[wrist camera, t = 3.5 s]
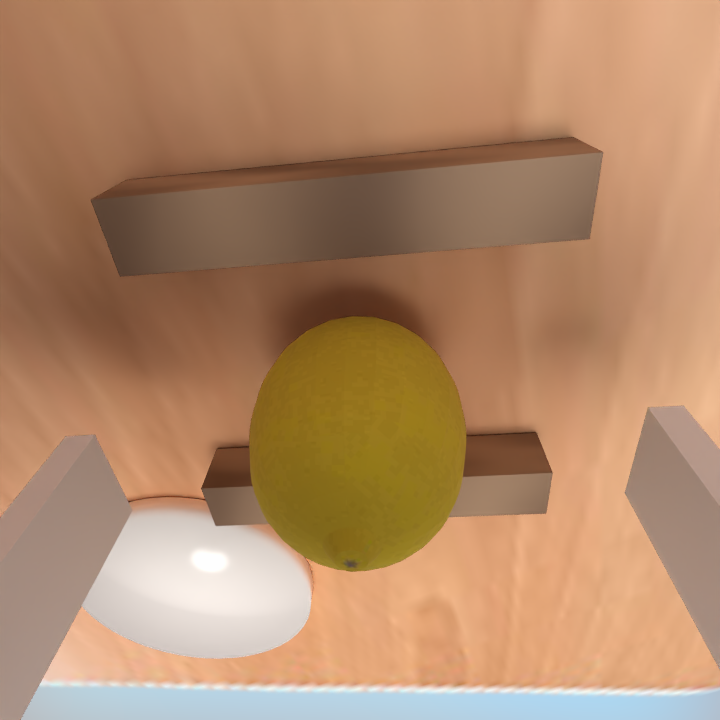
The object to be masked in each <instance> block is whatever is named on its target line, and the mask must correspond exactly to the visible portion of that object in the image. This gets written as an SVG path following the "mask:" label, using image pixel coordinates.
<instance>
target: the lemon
mask: <svg viewBox="0 0 720 720" xmlns="http://www.w3.org/2000/svg"><path fill="white" fill-rule="evenodd" d="M249 448H250V473H251V481H252V485H253V489H254V493H255V496H256V498H257V501H258V503H259V506H260V508H261V511H262V513H263V514H264V516H265V518H266V520H267V522H268V523H269V524H270V525H271V527H272V528H273V529H274V531H275V532H276V533H277V534H278V535H279V537H280V538H281V539H282V540H283V541H284V542H285V543H286V544H288V545H289V546H290V547H291V548H293V549H294V550H295V551H297V552H298V553H299V554H301V555H302V556H303V557H305V558H307V559H309V560H311V561H314V562H316V563H318V564H320V565H323V566H327V567H330V568H334V569H337V570H345V571H351V572H353V571H368V570H373V569H378V568H383V567H387V566H390V565H392V564H395V563H398V562H400V561H402V560H404V559H406V558H407V557H409V556H410V555H412V554H414V553H415V552H417V551H418V550H420V549H421V548H423V547H424V546H425V545H426V544H427V543H428V542H429V541H430V540H431V539H432V538H433V537H434V536H435V535H436V534H437V532H438V531H439V530H440V529H441V528H442V527H443V525H444V524H445V522H446V520H447V519H448V517H449V515H450V513H451V511H452V509H453V507H454V505H455V502H456V500H457V497H458V495H459V492H460V488H461V484H462V479H463V471H464V462H465V453H466V425H465V419H464V414H463V410H462V406H461V401H460V397H459V393H458V390H457V387H456V385H455V382H454V381H453V379H452V377H451V375H450V374H449V372H448V370H447V368H446V367H445V365H444V363H443V362H442V360H441V358H440V357H439V355H438V354H437V353H436V352H435V351H434V350H433V349H432V348H431V347H430V346H429V345H428V344H427V343H426V342H425V341H424V340H423V339H422V338H420V337H419V336H418V335H417V334H415V333H414V332H412V331H410V330H408V329H406V328H404V327H403V326H401V325H399V324H397V323H395V322H391V321H387V320H384V319H380V318H376V317H362V316H350V317H344V318H339V319H334V320H329V321H327V322H325V323H323V324H320V325H318V326H316V327H313V328H311V329H309V330H308V331H306V332H305V333H303V334H302V335H301V336H300V337H298V338H297V339H296V340H295V341H293V342H292V343H291V344H290V345H289V346H287V347H286V348H285V349H284V351H283V352H282V353H281V355H280V356H279V358H278V359H277V361H276V362H275V363H274V365H273V366H272V368H271V369H270V371H269V372H268V373H267V375H266V377H265V379H264V381H263V383H262V386H261V388H260V391H259V394H258V398H257V401H256V404H255V407H254V410H253V414H252V418H251V425H250V435H249Z"/></svg>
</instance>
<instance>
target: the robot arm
mask: <svg viewBox="0 0 720 720" xmlns="http://www.w3.org/2000/svg"><path fill="white" fill-rule="evenodd" d="M625 494H626V496H627V498H628V500H629V502H630V503H631V505H632V507H633V509H634V511H635V513H636V515H637V516H638V518H639V520H640V522H641V524H642V526H643V528H644V530H645V531H646V533H647V535H648V537H649V539H650V541H651V543H652V544H653V546H654V548H655V550H656V552H657V554H658V556H659V557H660V559H661V561H662V563H663V565H664V567H665V569H666V570H667V572H668V574H669V576H670V578H671V580H672V582H673V584H674V585H675V587H676V589H677V591H678V593H679V595H680V597H681V598H682V600H683V602H684V604H685V606H686V608H687V610H688V611H689V613H690V615H691V617H692V619H693V621H694V623H695V624H696V626H697V628H698V630H699V632H700V634H701V636H702V637H703V639H704V641H705V643H706V645H707V647H708V649H709V651H710V652H711V654H712V656H713V658H714V660H715V662H716V664H717V665H718V667H719V669H720V449H719V448H718V447H717V446H716V444H715V443H714V442H713V441H712V439H711V438H710V437H709V436H708V435H707V433H706V432H705V431H704V430H703V429H702V427H701V426H700V425H699V424H698V423H697V421H696V420H695V419H694V418H693V417H692V415H691V414H690V413H689V412H688V411H687V409H686V408H685V407H684V406H667V407H648V409H647V412H646V416H645V420H644V424H643V427H642V431H641V435H640V438H639V442H638V446H637V450H636V453H635V457H634V461H633V464H632V468H631V472H630V476H629V479H628V483H627V487H626V490H625ZM132 511H133V510H132V508H131V506H130V504H129V502H128V500H127V498H126V496H125V494H124V492H123V490H122V488H121V486H120V484H119V482H118V480H117V478H116V476H115V474H114V472H113V470H112V468H111V466H110V464H109V462H108V460H107V458H106V456H105V454H104V452H103V450H102V448H101V446H100V444H99V442H98V440H97V438H96V436H95V435H80V436H65V438H64V439H63V440H62V441H61V443H60V444H59V445H58V446H57V448H56V449H55V450H54V451H53V453H52V454H51V455H50V456H49V457H48V459H47V460H46V461H45V462H44V464H43V465H42V466H41V467H40V469H39V470H38V471H37V472H36V474H35V475H34V476H33V477H32V479H31V480H30V481H29V482H28V484H27V485H26V486H25V487H24V488H23V490H22V491H21V492H20V493H19V495H18V496H17V497H16V498H15V500H14V501H13V502H12V503H11V505H10V506H9V507H8V508H7V510H6V511H5V512H4V513H3V515H2V516H1V517H0V720H21V718H22V716H23V714H24V712H25V710H26V709H27V707H28V705H29V703H30V701H31V699H32V697H33V695H34V694H35V692H36V690H37V688H38V686H39V684H40V683H41V681H42V679H43V677H44V675H45V673H46V671H47V669H48V668H49V666H50V664H51V662H52V660H53V658H54V656H55V655H56V653H57V651H58V649H59V647H60V645H61V643H62V641H63V640H64V638H65V636H66V634H67V632H68V630H69V628H70V626H71V625H72V623H73V621H74V619H75V617H76V615H77V613H78V612H79V610H80V608H81V606H82V604H83V602H84V600H85V598H86V597H87V595H88V593H89V591H90V589H91V587H92V585H93V584H94V582H95V580H96V578H97V576H98V574H99V572H100V570H101V569H102V567H103V565H104V563H105V561H106V559H107V557H108V556H109V554H110V552H111V550H112V548H113V546H114V544H115V542H116V541H117V539H118V537H119V535H120V533H121V531H122V529H123V527H124V526H125V524H126V522H127V520H128V518H129V516H130V514H131V513H132Z"/></svg>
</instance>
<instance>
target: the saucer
mask: <svg viewBox="0 0 720 720" xmlns="http://www.w3.org/2000/svg"><path fill="white" fill-rule="evenodd" d="M129 504H130V506H131V508H132V510H133V511H132V513H131V514H130V516H129V518H128V520H127V522H126V524H125V526H124V527H123V529H122V531H121V533H120V535H119V537H118V539H117V541H116V542H115V544H114V546H113V548H112V550H111V552H110V554H109V556H108V557H107V559H106V561H105V563H104V565H103V567H102V569H101V570H100V572H99V574H98V576H97V578H96V580H95V582H94V584H93V585H92V587H91V589H90V591H89V593H88V595H87V597H86V598H85V600H84V602H83V604H82V607H83V608H84V609H85V610H86V611H87V612H88V613H89V614H90V615H91V616H92V617H93V618H95V619H96V620H97V621H98V622H100V623H101V624H102V625H104V626H105V627H107V628H109V629H110V630H112V631H113V632H115V633H117V634H119V635H121V636H123V637H125V638H127V639H129V640H131V641H134V642H136V643H138V644H141V645H144V646H147V647H150V648H153V649H156V650H160V651H163V652H167V653H172V654H177V655H182V656H189V657H198V658H236V657H244V656H250V655H254V654H259V653H262V652H265V651H269V650H271V649H274V648H276V647H278V646H280V645H282V644H284V643H286V642H287V641H289V640H290V639H291V638H293V637H294V636H295V635H296V634H297V633H298V632H299V631H300V630H301V629H302V628H303V626H304V625H305V623H306V621H307V619H308V616H309V613H310V608H311V599H312V591H313V578H312V572H311V569H310V567H309V564H308V562H307V560H306V559H305V557H303V556H302V555H301V554H299V553H298V552H297V551H295V550H294V549H293V548H291V547H290V546H289V545H288V544H286V543H285V542H284V541H283V540H282V539H281V538H280V537H279V535H278V534H277V533H276V532H275V531H274V529H273V528H272V527H271V525H270V524H259V525H233V526H215V523H214V521H213V518H212V515H211V513H210V510H209V508H208V505H207V502H206V501H205V500H200V499H193V498H182V497H158V498H147V499H141V500H136V501H131V502H129Z"/></svg>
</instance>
